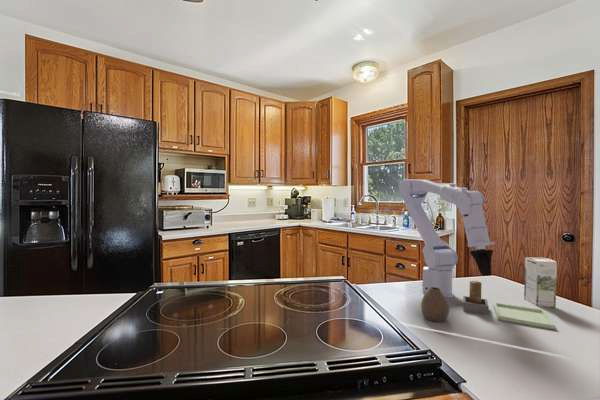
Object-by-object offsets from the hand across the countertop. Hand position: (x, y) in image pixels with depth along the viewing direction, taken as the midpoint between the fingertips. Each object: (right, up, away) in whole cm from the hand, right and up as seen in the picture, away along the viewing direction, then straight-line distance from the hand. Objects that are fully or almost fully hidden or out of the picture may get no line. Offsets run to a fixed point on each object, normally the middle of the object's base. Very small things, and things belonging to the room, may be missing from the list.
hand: (485, 274), depth 86 cm
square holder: (-3, -11, +1) cm, 11 cm away
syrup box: (+21, -11, +6) cm, 25 cm away
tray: (+7, -11, -4) cm, 14 cm away
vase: (-18, -11, -6) cm, 22 cm away
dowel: (-3, -10, +1) cm, 11 cm away
